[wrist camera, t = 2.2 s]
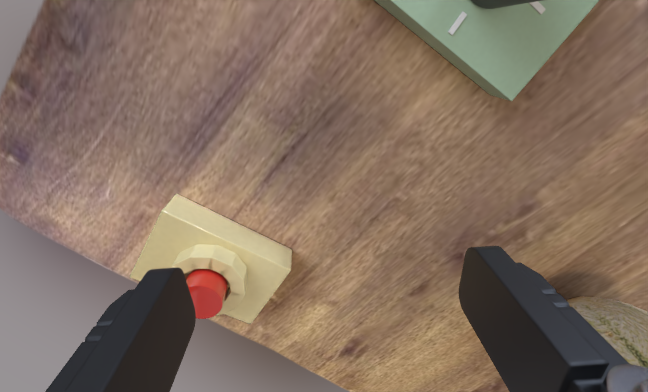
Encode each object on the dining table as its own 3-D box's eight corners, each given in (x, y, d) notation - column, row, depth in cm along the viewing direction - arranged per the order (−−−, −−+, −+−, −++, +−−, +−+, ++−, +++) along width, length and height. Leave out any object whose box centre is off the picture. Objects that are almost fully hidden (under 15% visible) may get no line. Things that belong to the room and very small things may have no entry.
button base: (145, 255, 31) (118, 292, 26) (176, 193, 28) (151, 222, 23) (255, 301, 34) (247, 340, 30) (292, 249, 31) (290, 284, 27)
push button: (178, 290, 27) (169, 308, 25) (195, 261, 26) (186, 278, 24) (217, 306, 28) (211, 324, 26) (235, 279, 27) (230, 296, 25)
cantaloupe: (565, 248, 33) (741, 389, 20) (641, 299, 37) (830, 445, 24) (467, 333, 38) (554, 491, 25) (543, 370, 42) (654, 523, 29)
